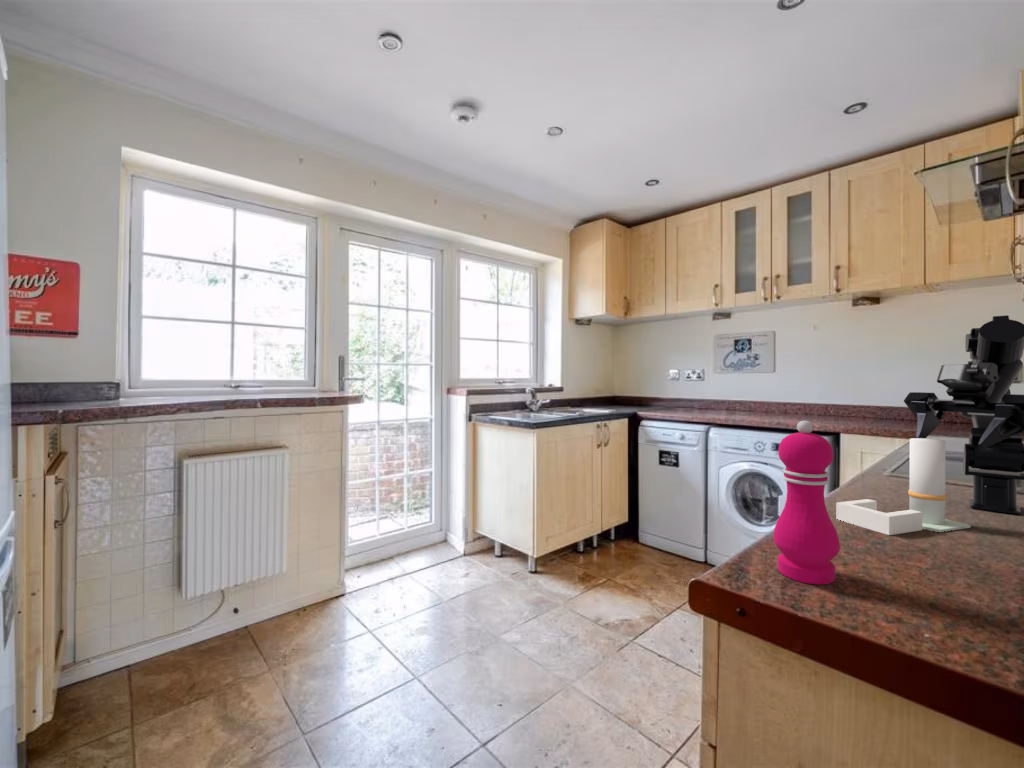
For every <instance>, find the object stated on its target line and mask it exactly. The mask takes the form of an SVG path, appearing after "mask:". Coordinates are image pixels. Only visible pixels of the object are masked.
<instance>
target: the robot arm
mask: <svg viewBox="0 0 1024 768" xmlns="http://www.w3.org/2000/svg"><path fill="white" fill-rule="evenodd" d="M964 344H965V353H969V359H970V360H971V361H967V363H960V364H959V363H956V364H955V363H954V364H943V365H941V366H940V369H939V373H938V376H937V379H936V382H937V383H938V384H942V386H945V387H946V388H947V389H946V390H945V392H946V394H947V395H948V396H949V397H952V399H945V398H944V399H943V398H941V399H940V398H939V397H938V396H937V394H936V393H935V392H924V391H923V392H919V391H917V392H916V391H915V392H914V391H913V392H912V391H911V392H909V393H908V394H907V395H906V397H905V398H904V399H903V403H904V404H905V405H906V406H907V408H908V409H909V410H910V412H911V413H912V414H913V416H914V417H915V418H916V419H917V420H916V421H917V423H916V433H915V438H926V439H927V438H928V436H930V435H931V434H932V433H933V432H934V431H935V430H936V429H937V428H938V427H939V426H940V425H941V424H942V423H941V420H943V418H944V417H945V416H946V412H952V413H953V412H954V413H960V416H961V417H964V418H967V419H971V420H972V425H973V427H971V429H970V435H968V443H964V446H963V454H962V455H963V457H962V470H963V471H962V472H963V474H964V476H973V477H972V479H973V480H972V481H973V483H972V485H973V488H972V490H973V491H972V492H973V493H972V496H973V497H972V499H970V501H969V502H970V508H972V509H977V510H982V511H983V510H985V511H991V512H999V513H1007V514H1012V515H1013V514H1014V515H1021V514H1022V511H1021V508H1020V505H1018V504H1017V502H1018V501H1017V500H1018V496H1017V495H1018V494H1017V493H1018V492H1017V491H1018V484H1017V482H1018V480H1019V481H1022V480H1023V481H1024V441H1023V438H1022V436H1021V434H1023V433H1024V394H1015V393H1014V394H1013V393H1012V394H1011V387H1012V384H1013V383H1014V382H1015V380H1016V379H1017V378H1018V375H1019V374H1020V372H1021V371H1022V369H1023V368H1024V363H1023V361H1022V357H1023V354H1024V323H1022V322H1021V321H1018V320H1014V319H1010V317H1009V315H1008V314H1007V315H995V316H992V320H990V321H987V322H986V323H984V324H983V325H981V326H980V327H972V328H971V329H970V332H969V333H966V334H965V343H964Z"/></svg>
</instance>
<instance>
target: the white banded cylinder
mask: <svg viewBox="0 0 1024 768" xmlns="http://www.w3.org/2000/svg"><path fill="white" fill-rule="evenodd" d="M908 482H909V487H908V488H909V489H908V490H907V491H908V492H907V494H908V497H909V504H908V506H909V508H908V510H915V511H920V512H922V523H926V524H934V525H943V524H945V519H946V500H947V494H946V440H942V439H939V438H938V439H935V438H927V437H926V438H916V437H915V438H914V437H911V438H909V481H908Z"/></svg>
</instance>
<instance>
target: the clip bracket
mask: <svg viewBox="0 0 1024 768" xmlns="http://www.w3.org/2000/svg"><path fill="white" fill-rule="evenodd" d="M877 502H878V501H877V500H874V499H870V498H869V499H868V498H865V499H858V500H857V499H856V500H847V501H839V502H838V501H837V502H836V503H835V504H836V505H835V509H836V510H835V512H836V515H835V516H836V517H835V518H836V520H837V519H838V520H837V521H840V520H841V522H843V521H844V523H847V524H850V525H853V524H854V525H853V526H856V527H860V528H864V529H866V530H867V529H868V530H869V531H874V532H877V533H881V534H884V535H887V536H893V535H900V534H905V533H912V532H919V531H923V529H922V512H920V511H915V510H909V509H907V510H904V509H903V510H898V511H891V512H884V511H880V510H877V504H878V503H877Z"/></svg>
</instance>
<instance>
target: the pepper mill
mask: <svg viewBox="0 0 1024 768" xmlns="http://www.w3.org/2000/svg"><path fill="white" fill-rule="evenodd" d="M796 430H797V431H798V432H794V433H790V434H789V435H786V436H785V437H783V438H782V439H781V440H780V442H779V445H778V450H777V451H778V453H777V454H778V457H779V460H780V461H781V463H783V465H784V466H785V468H783V469H782V473H783V476H782V479H783V480H784V481H785V482H786V489H787V490H786V500H785V504H784V507H783V509H782V511H781V513H780V515H779V517H778V518H777V521H776V522H775V526H774V529H773V541H774V545H775V546H776V547H777V549H778V550H779V551H780V552H781V553H780V554H779V555H778V556H777V570H778V572H779V573H780V574H781V575H783V576H784V577H786V578H788V579H790V580H794V581H797V582H800V583H804V584H809V585H817V586H819V585H820V586H821V585H823V586H824V585H830V584H832V583H834V582H835V581H836V566H835V564H834V563H833V562H832V560H833V559H834V558H836V557H837V556H838V555H839V553H840V550H841V546H840V539H839V534H838V531H837V530H836V528H835V525H834V524H833V521H832V520H831V517H830V515H829V512H828V510H827V505H826V503H825V487H826V485H828V484H829V481H830V480H828V478H829V474H830V473H829V472H827V471H826V470H827V468H828V467H829V466H830V465H831V464H833V460H834V450H833V446H832V445H831V443H830V442H829V441H828V440H827V439H826V438H824V437H823V436H822V435H820V434H817V433H812V432H813V430H814V426H813V423H812V422H810V421H808V420H801V421H799V422H798V423H797V425H796Z"/></svg>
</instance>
